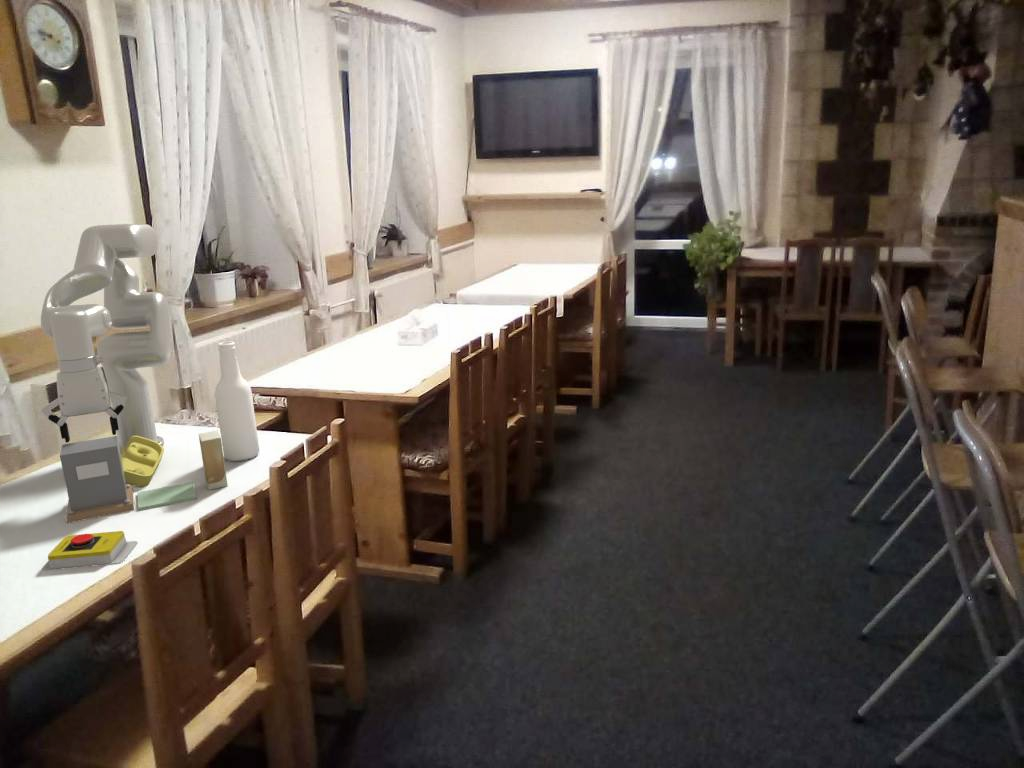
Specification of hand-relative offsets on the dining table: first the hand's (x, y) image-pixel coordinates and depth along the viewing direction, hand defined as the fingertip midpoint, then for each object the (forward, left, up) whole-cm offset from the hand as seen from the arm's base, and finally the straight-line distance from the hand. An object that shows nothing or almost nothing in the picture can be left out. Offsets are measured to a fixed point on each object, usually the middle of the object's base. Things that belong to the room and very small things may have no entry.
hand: (91, 437), depth 183 cm
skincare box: (+11, +25, -14) cm, 30 cm away
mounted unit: (+11, 0, -13) cm, 17 cm away
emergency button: (+37, -1, -14) cm, 39 cm away
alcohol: (-6, +33, -14) cm, 36 cm away
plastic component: (-7, +8, -14) cm, 17 cm away
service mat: (+13, +14, -13) cm, 23 cm away
